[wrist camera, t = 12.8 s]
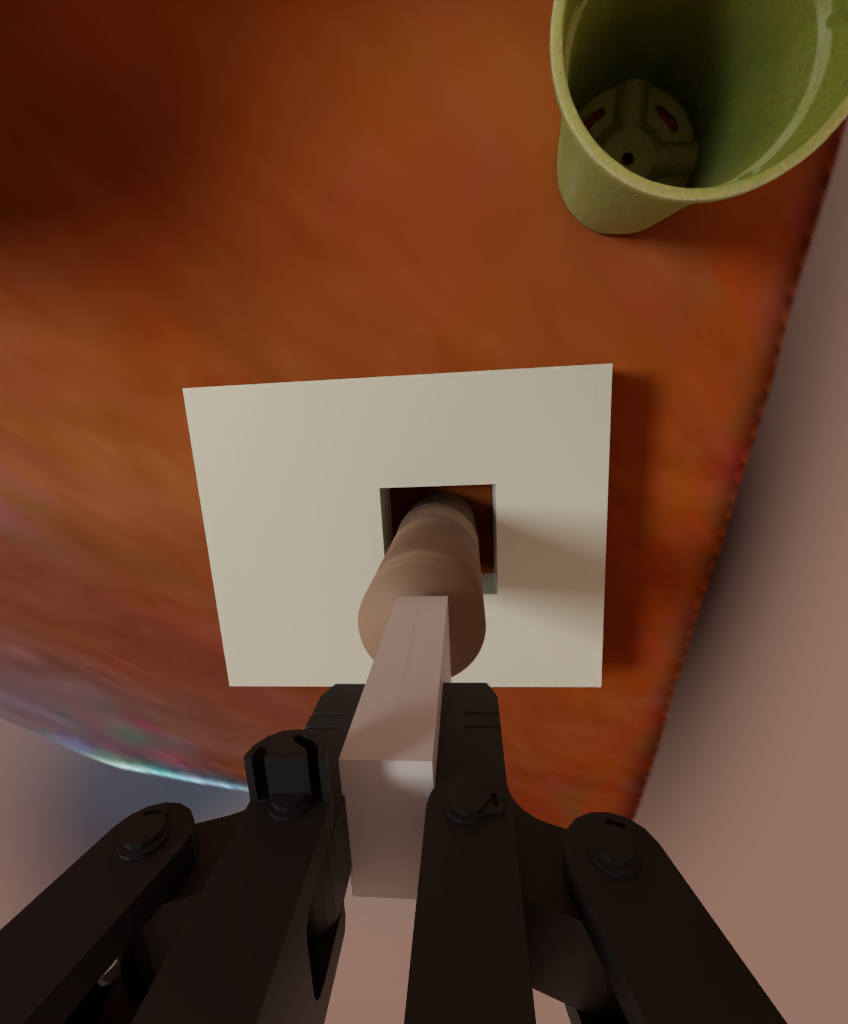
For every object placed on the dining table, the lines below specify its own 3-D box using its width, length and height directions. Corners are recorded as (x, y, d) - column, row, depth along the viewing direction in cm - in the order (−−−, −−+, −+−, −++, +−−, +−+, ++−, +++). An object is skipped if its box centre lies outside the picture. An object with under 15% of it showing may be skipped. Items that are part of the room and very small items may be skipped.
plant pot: (476, 174, 22) (484, 38, 14) (632, -14, 20) (749, -307, 12) (613, 316, 23) (697, 269, 15) (775, 150, 21) (979, -14, 13)
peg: (406, 562, 27) (361, 684, 15) (401, 491, 26) (350, 564, 15) (478, 561, 27) (489, 684, 15) (476, 489, 26) (486, 561, 14)
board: (253, 657, 29) (229, 686, 26) (214, 389, 26) (182, 388, 23) (586, 656, 27) (601, 686, 25) (594, 368, 24) (612, 363, 21)
